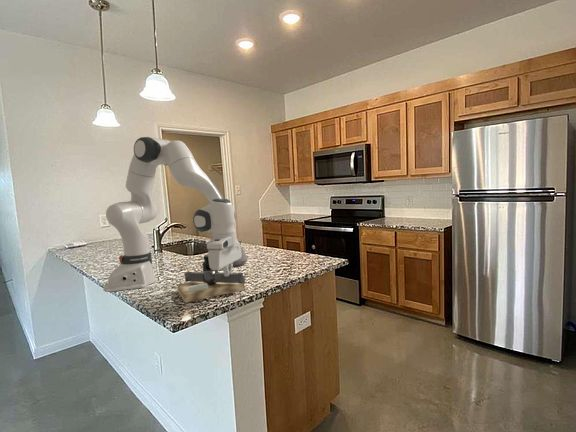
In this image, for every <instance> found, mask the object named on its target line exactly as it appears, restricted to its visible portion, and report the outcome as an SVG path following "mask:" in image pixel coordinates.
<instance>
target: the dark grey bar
mask: <svg viewBox="0 0 576 432" xmlns="http://www.w3.org/2000/svg"><path fill="white" fill-rule="evenodd" d="M184 280H185V283H189V282H204V283H207V284H208V285H212V284H215V283H216V282H221V283H244V284H245V283H246V276H245V273H244V272H240V273H239V272H238V273H237V272H232V274H231V275H229V276H225V275H224V272H218V273H216V271H215V270H206V271H204V272H203V271H185V272H184Z"/></svg>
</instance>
